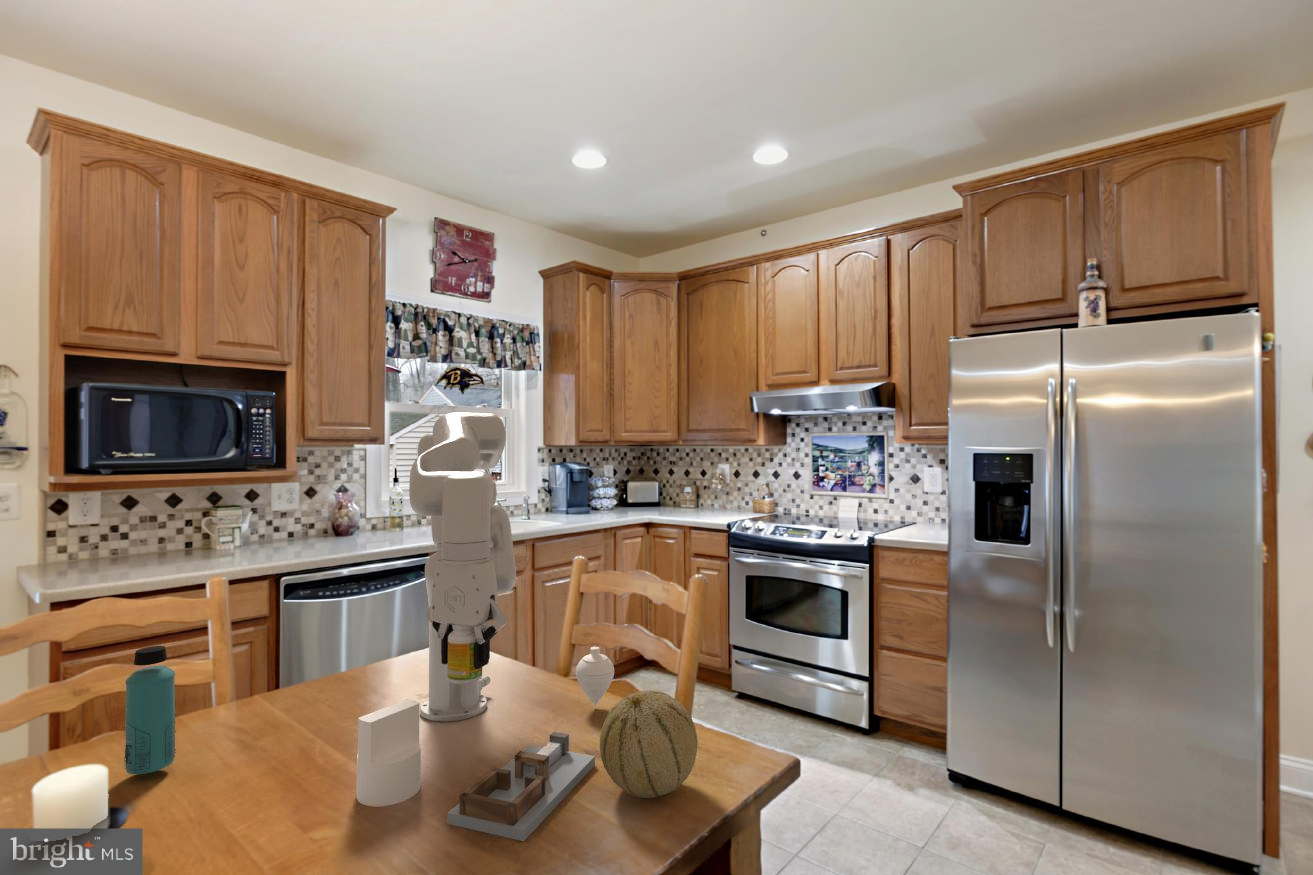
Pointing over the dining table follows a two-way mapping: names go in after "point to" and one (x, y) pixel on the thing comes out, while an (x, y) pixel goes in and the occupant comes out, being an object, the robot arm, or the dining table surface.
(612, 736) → the cantaloupe
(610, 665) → the spinning top
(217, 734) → the dining table surface
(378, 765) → the cylinder with rectangular tab
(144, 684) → the beverage bottle
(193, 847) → the dining table surface
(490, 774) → the socket
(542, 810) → the dock board
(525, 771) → the pin
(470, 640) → the supplement bottle
